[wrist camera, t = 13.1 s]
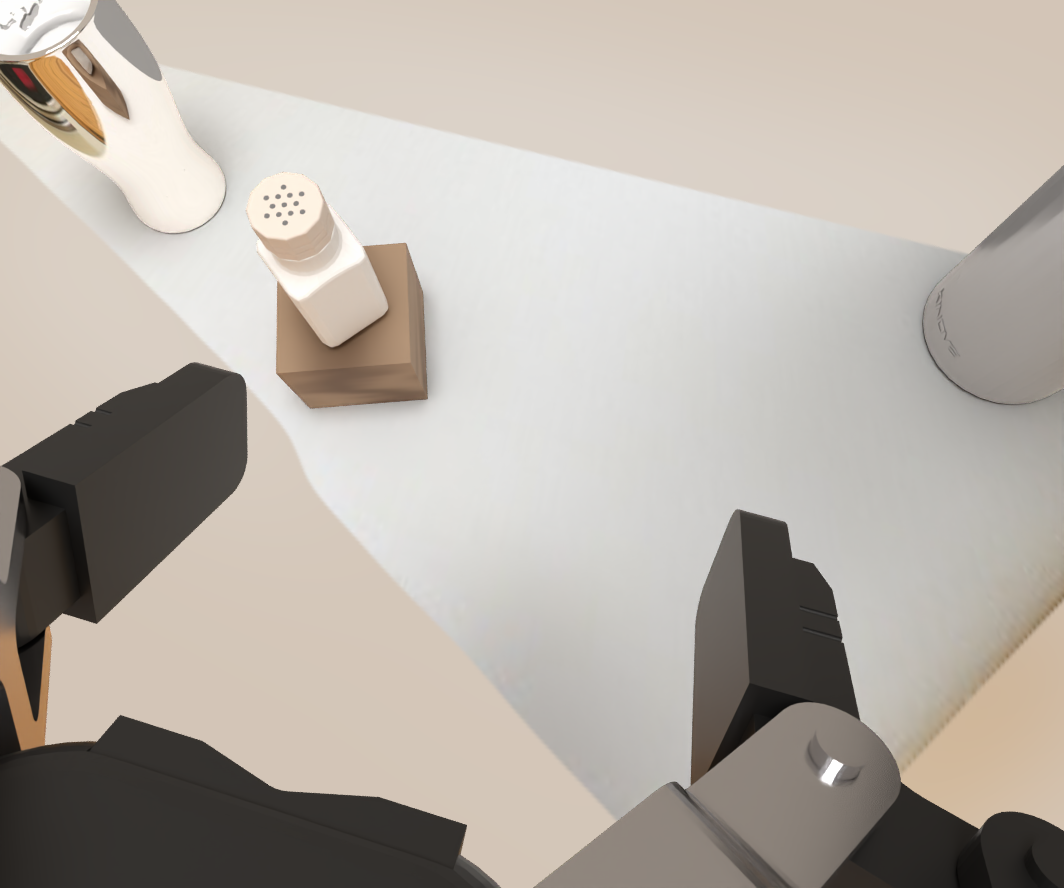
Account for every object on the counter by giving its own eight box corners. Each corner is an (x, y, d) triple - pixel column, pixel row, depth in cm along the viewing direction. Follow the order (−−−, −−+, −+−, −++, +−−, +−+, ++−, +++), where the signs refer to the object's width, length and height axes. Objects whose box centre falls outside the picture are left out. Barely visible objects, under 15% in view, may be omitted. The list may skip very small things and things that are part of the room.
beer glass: (106, 220, 48) (-81, 38, 34) (158, 133, 50) (0, -76, 36) (202, 254, 48) (53, 82, 33) (251, 164, 49) (129, -37, 35)
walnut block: (423, 293, 47) (406, 242, 41) (428, 399, 45) (410, 362, 39) (310, 302, 47) (277, 252, 41) (310, 409, 45) (276, 373, 39)
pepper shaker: (353, 258, 41) (299, 145, 32) (395, 312, 40) (351, 213, 31) (290, 299, 40) (217, 197, 31) (331, 355, 39) (268, 266, 30)
